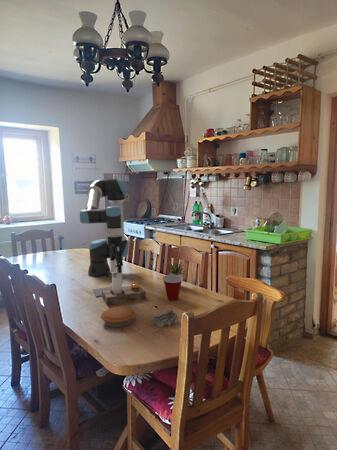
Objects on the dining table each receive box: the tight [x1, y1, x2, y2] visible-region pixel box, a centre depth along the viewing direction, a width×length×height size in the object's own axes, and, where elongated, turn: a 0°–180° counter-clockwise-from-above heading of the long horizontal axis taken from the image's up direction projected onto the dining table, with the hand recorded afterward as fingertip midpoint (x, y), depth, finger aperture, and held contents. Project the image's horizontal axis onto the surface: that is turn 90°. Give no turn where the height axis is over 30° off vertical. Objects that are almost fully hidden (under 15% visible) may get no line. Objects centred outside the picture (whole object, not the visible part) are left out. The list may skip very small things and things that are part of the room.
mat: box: [92, 286, 113, 298], centre depth 183 cm, size 12×12×1 cm
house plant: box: [166, 259, 186, 288], centre depth 188 cm, size 14×14×16 cm
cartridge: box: [111, 272, 123, 295], centre depth 170 cm, size 5×5×14 cm
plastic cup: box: [162, 273, 184, 302], centre depth 169 cm, size 11×11×12 cm
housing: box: [101, 285, 147, 306], centre depth 172 cm, size 13×21×4 cm, turn 113°
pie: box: [100, 306, 136, 328], centre depth 144 cm, size 16×16×5 cm
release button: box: [130, 282, 140, 290], centre depth 174 cm, size 4×4×6 cm
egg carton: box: [152, 309, 180, 328], centre depth 142 cm, size 11×8×4 cm
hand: (116, 275), depth 169 cm, fingers open, 13 cm apart
